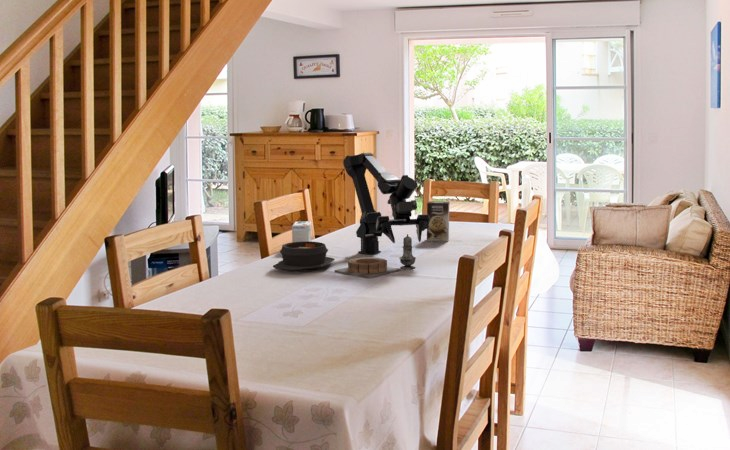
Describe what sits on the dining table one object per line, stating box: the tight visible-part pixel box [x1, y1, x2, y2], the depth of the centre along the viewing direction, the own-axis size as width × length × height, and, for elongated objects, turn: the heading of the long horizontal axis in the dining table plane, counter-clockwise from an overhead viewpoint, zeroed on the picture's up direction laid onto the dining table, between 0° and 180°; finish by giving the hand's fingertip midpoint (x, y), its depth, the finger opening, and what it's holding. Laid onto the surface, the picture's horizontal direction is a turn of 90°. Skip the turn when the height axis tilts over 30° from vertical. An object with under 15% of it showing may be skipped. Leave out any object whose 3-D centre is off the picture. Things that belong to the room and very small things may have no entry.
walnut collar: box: [334, 256, 402, 279], centre depth 279 cm, size 16×16×4 cm
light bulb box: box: [291, 220, 312, 243], centre depth 321 cm, size 11×7×11 cm, turn 178°
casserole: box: [272, 241, 335, 272], centre depth 286 cm, size 25×19×8 cm
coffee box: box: [426, 201, 451, 243], centre depth 339 cm, size 9×6×16 cm
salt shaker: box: [399, 234, 417, 271], centre depth 283 cm, size 6×6×12 cm
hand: (407, 241), depth 284 cm, fingers open, 9 cm apart
